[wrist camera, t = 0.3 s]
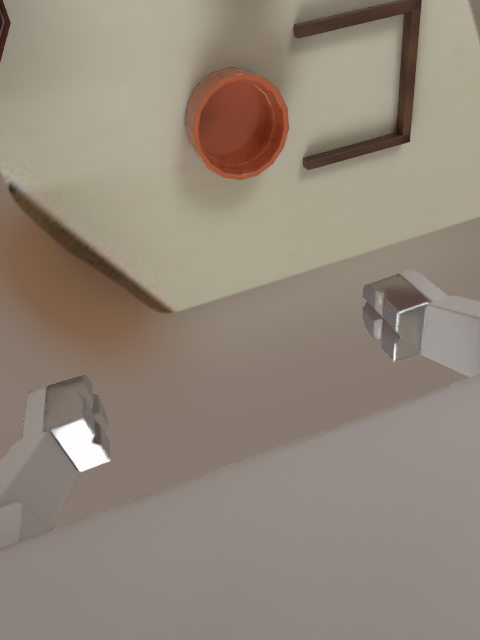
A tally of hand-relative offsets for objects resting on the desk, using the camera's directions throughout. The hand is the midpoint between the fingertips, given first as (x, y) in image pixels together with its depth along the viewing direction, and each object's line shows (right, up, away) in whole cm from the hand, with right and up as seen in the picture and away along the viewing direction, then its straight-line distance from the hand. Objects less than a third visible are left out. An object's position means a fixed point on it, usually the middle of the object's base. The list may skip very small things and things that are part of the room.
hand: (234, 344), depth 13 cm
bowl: (-1, +25, +42) cm, 49 cm away
